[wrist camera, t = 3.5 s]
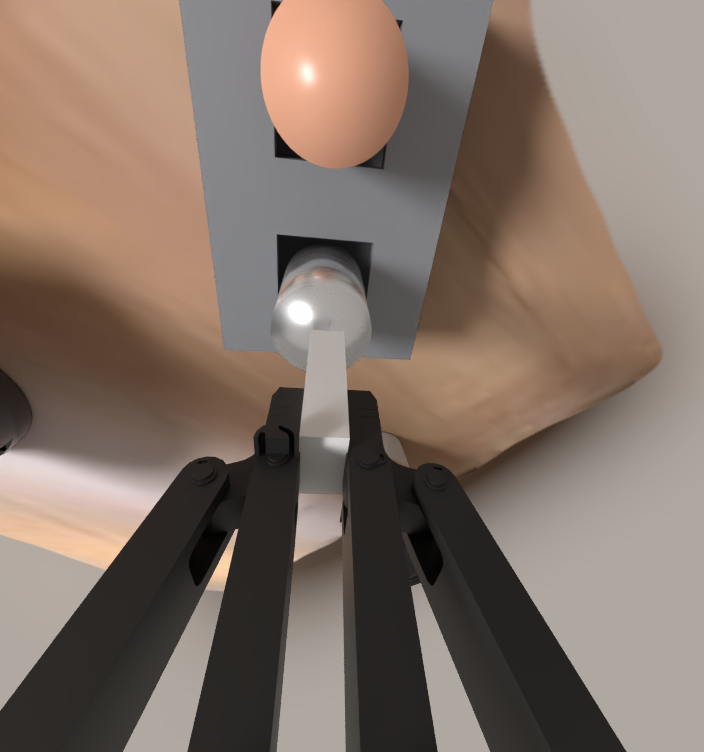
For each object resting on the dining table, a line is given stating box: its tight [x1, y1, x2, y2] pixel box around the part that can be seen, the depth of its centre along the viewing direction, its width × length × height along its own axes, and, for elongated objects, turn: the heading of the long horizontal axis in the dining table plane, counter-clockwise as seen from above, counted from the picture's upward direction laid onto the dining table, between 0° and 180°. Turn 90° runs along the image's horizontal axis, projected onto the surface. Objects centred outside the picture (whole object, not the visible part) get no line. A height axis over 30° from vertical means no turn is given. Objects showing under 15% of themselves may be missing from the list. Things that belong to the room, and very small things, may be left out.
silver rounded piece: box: [270, 243, 372, 371], centre depth 21 cm, size 5×5×7 cm
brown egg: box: [261, 0, 409, 169], centre depth 15 cm, size 5×5×7 cm
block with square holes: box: [179, 0, 494, 360], centre depth 24 cm, size 21×14×8 cm, turn 174°
